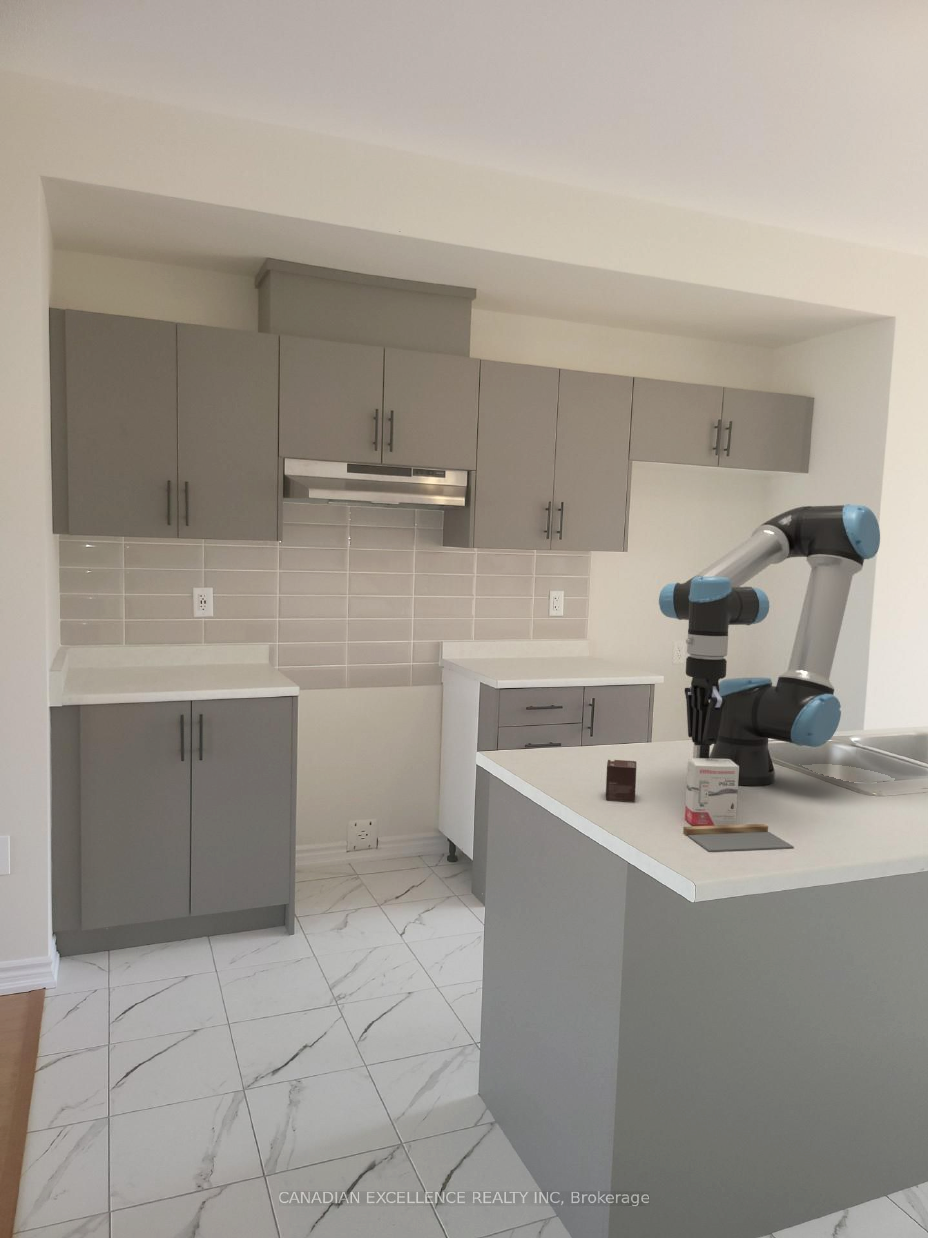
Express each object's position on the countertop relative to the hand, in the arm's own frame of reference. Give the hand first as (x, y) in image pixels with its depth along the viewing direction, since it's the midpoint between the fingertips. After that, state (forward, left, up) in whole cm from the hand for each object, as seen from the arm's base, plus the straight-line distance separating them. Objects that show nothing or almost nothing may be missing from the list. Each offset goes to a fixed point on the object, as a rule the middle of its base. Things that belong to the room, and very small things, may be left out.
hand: (700, 777), depth 169 cm
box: (+11, -14, -8) cm, 19 cm away
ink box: (0, +4, -8) cm, 9 cm away
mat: (0, +16, -8) cm, 18 cm away
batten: (0, +11, -8) cm, 13 cm away
